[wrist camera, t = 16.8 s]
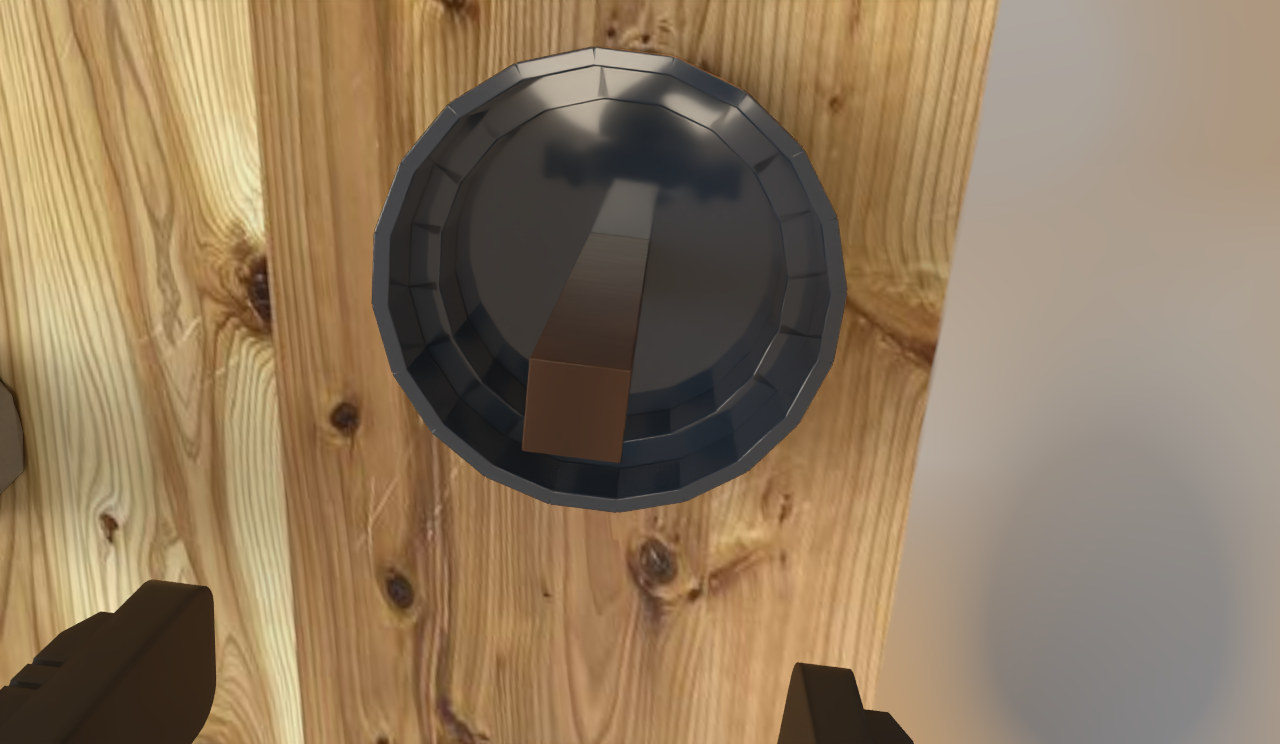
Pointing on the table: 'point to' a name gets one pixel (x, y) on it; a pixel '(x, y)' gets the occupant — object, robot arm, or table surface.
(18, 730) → the robot arm
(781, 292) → the bowl
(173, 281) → the table surface
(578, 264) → the brown rectangular peg
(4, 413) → the coffeepot
